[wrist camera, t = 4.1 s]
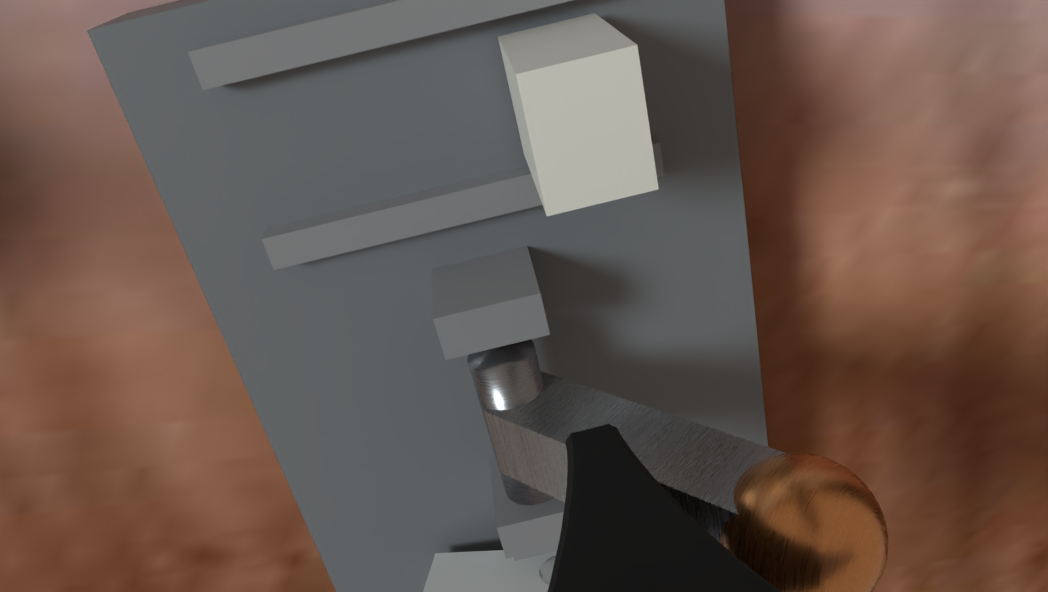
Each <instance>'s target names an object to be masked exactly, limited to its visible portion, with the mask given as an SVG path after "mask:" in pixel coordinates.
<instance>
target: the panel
mask: <svg viewBox="0 0 1048 592" xmlns="http://www.w3.org/2000/svg"><path fill="white" fill-rule="evenodd" d="M593 13H595V14H597V15H598V16H599V17H601V18H602V19H603V20H605V21H606V22H607V23H609V24H610V25H611V26H613V27H614V28H615V29H617V30H618V31H619V32H621V33H622V34H623V35H625V36H626V37H627V38H629V39H630V40H631V41H633V42H634V43H635V44H637V46H638V53H639V60H640V66H641V73H642V80H643V87H644V93H645V100H646V107H647V114H648V120H649V127H650V134H651V141H652V147H653V154H654V161H655V168H656V174H657V181H658V188H659V189H658V190H654V191H650V192H646V193H642V194H638V195H633V196H629V197H625V198H621V199H617V200H613V201H609V202H605V203H600V204H596V205H592V206H588V207H584V208H580V209H576V210H572V211H567V212H563V213H559V214H555V215H551V216H546V213H545V210H544V207H543V205H542V202H541V199H540V197H539V194H538V191H537V188H536V186H535V183H534V180H533V177H532V175H531V172H530V169H529V167H528V164H527V161H526V158H525V156H524V152H523V147H522V143H521V138H520V134H519V130H518V125H517V121H516V116H515V112H514V107H513V103H512V98H511V94H510V89H509V85H508V80H507V76H506V71H505V67H504V62H503V58H502V53H501V49H500V44H499V40H498V36H503V35H507V34H511V33H515V32H519V31H523V30H527V29H531V28H535V27H540V26H544V25H548V24H552V23H556V22H560V21H564V20H568V19H573V18H577V17H581V16H585V15H589V14H593ZM87 31H88V34H89V36H90V38H91V40H92V43H93V45H94V47H95V49H96V52H97V54H98V56H99V58H100V61H101V63H102V65H103V67H104V70H105V72H106V74H107V76H108V79H109V81H110V83H111V85H112V88H113V90H114V92H115V94H116V97H117V99H118V101H119V103H120V106H121V108H122V110H123V112H124V115H125V117H126V119H127V121H128V124H129V126H130V128H131V130H132V133H133V135H134V137H135V139H136V142H137V144H138V146H139V148H140V151H141V153H142V155H143V157H144V160H145V162H146V164H147V166H148V169H149V171H150V173H151V175H152V178H153V180H154V182H155V184H156V187H157V189H158V191H159V193H160V196H161V198H162V200H163V202H164V205H165V207H166V209H167V211H168V214H169V216H170V218H171V220H172V223H173V225H174V227H175V229H176V232H177V234H178V236H179V238H180V241H181V243H182V245H183V247H184V250H185V252H186V254H187V256H188V259H189V261H190V263H191V265H192V268H193V270H194V272H195V274H196V277H197V279H198V281H199V283H200V286H201V288H202V290H203V292H204V295H205V297H206V299H207V301H208V304H209V306H210V308H211V310H212V313H213V315H214V317H215V319H216V322H217V324H218V326H219V328H220V331H221V333H222V335H223V337H224V340H225V342H226V344H227V346H228V349H229V351H230V353H231V355H232V358H233V360H234V362H235V364H236V367H237V369H238V371H239V373H240V376H241V378H242V380H243V382H244V385H245V387H246V389H247V391H248V394H249V396H250V398H251V400H252V403H253V405H254V407H255V409H256V412H257V414H258V416H259V418H260V421H261V423H262V425H263V427H264V430H265V432H266V434H267V436H268V439H269V441H270V443H271V445H272V448H273V450H274V452H275V454H276V457H277V459H278V461H279V463H280V466H281V468H282V470H283V472H284V475H285V477H286V479H287V481H288V484H289V486H290V488H291V490H292V493H293V495H294V497H295V499H296V502H297V504H298V506H299V508H300V511H301V513H302V515H303V517H304V520H305V522H306V524H307V526H308V529H309V531H310V533H311V535H312V538H313V540H314V542H315V544H316V547H317V549H318V551H319V553H320V556H321V558H322V560H323V562H324V565H325V567H326V569H327V571H328V574H329V576H330V578H331V580H332V583H333V585H334V587H335V589H336V592H423V590H424V587H425V584H426V581H427V578H428V575H429V572H430V568H431V565H432V562H433V559H434V556H435V553H451V552H473V551H496V550H504V554H505V557H506V559H507V558H512V557H514V560H515V561H518V560H522V559H526V558H530V557H534V556H539V555H543V554H547V553H551V552H555V551H557V549H558V544H559V539H560V534H561V527H562V520H563V513H564V506H565V503H564V502H562V501H560V500H558V499H556V498H553V499H552V500H550V501H548V502H545V503H543V504H539V505H532V506H526V505H520V504H517V503H514V502H513V501H511V500H510V499H509V498H508V497H507V495H506V492H505V489H504V485H503V482H502V478H501V475H500V471H499V468H498V465H497V461H496V458H495V454H494V451H493V447H492V444H491V440H490V437H489V434H488V430H487V427H486V423H485V420H484V416H483V413H482V410H481V406H480V403H479V399H478V396H477V392H476V389H475V385H474V382H473V379H472V375H471V372H470V368H469V365H468V361H467V358H468V355H469V354H472V353H476V352H481V351H485V350H489V349H493V348H497V347H501V346H505V345H509V344H514V343H518V342H522V341H526V340H530V339H531V340H532V341H533V343H534V346H535V350H536V354H537V358H538V363H539V367H540V371H543V372H546V373H549V374H552V375H555V376H558V377H561V378H564V379H567V380H569V381H572V382H575V383H578V384H581V385H584V386H587V387H590V388H593V389H596V390H599V391H602V392H605V393H608V394H611V395H614V396H617V397H620V398H623V399H626V400H629V401H632V402H635V403H638V404H641V405H644V406H647V407H650V408H653V409H656V410H659V411H662V412H665V413H668V414H671V415H674V416H677V417H680V418H683V419H686V420H689V421H692V422H695V423H698V424H701V425H704V426H707V427H710V428H713V429H716V430H719V431H722V432H725V433H728V434H731V435H734V436H737V437H740V438H743V439H746V440H749V441H752V442H755V443H758V444H761V445H764V446H767V447H768V439H767V429H766V419H765V409H764V398H763V388H762V378H761V368H760V358H759V348H758V337H757V327H756V317H755V307H754V297H753V287H752V276H751V266H750V256H749V246H748V236H747V226H746V215H745V205H744V195H743V185H742V175H741V165H740V154H739V144H738V134H737V124H736V114H735V104H734V94H733V83H732V73H731V63H730V53H729V43H728V33H727V22H726V12H725V2H724V0H180V1H176V2H171V3H167V4H163V5H159V6H155V7H151V8H147V9H143V10H138V11H134V12H130V13H127V14H125V15H122V16H120V17H118V18H115V19H113V20H110V21H108V22H106V23H103V24H101V25H99V26H96V27H94V28H92V29H89V30H87Z"/></svg>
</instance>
